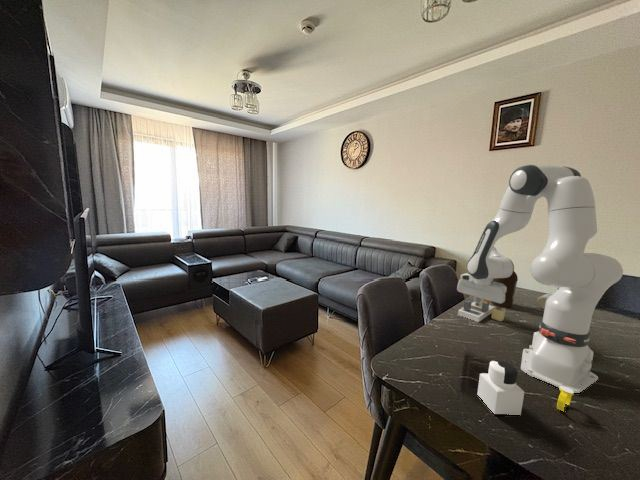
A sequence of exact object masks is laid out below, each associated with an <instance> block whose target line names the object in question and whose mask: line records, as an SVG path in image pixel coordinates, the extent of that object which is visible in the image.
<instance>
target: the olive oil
mask: <svg viewBox="0 0 640 480" xmlns="http://www.w3.org/2000/svg"><path fill="white" fill-rule="evenodd" d="M518 280H519V279H518V275H517V273H516V272H515V271H514V272H513V274H512V275H511V276H510V277H508V278H493V281H494V282H498V283H502V284H504V285H505V286H506V287H507V291H506V293H505V301H504V302H503V303H501V304H500V303H496V302H493V301H490V302H491V304H493V305H494V306H495V307H501V308H504V309H505V308H507V309H511V308H512V307H513V304H514V298H515V293H516V288H517V284H518Z"/></svg>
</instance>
